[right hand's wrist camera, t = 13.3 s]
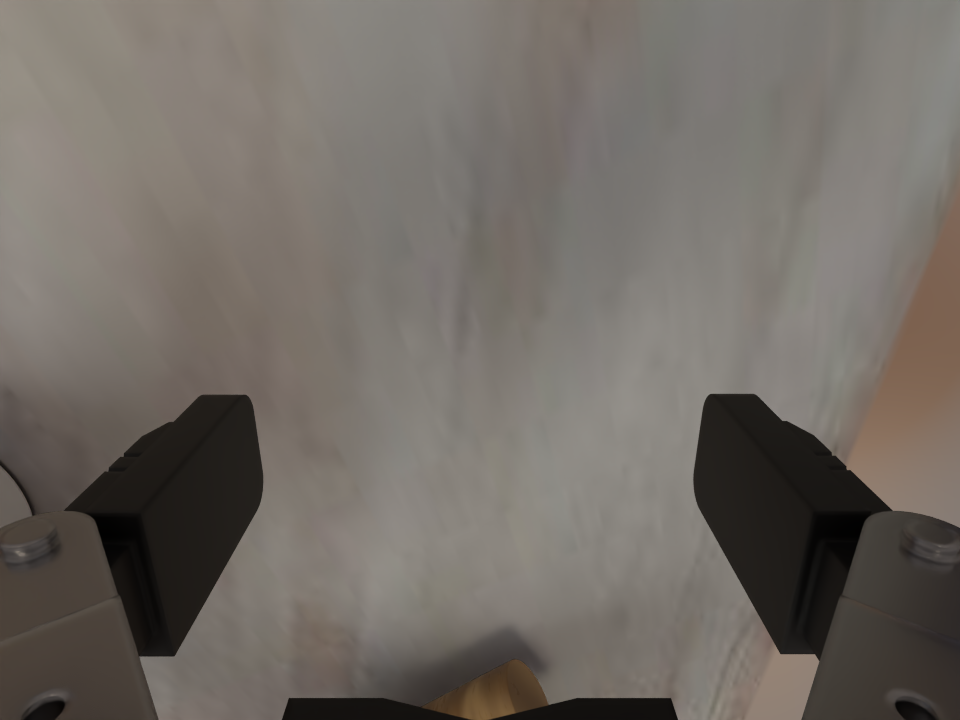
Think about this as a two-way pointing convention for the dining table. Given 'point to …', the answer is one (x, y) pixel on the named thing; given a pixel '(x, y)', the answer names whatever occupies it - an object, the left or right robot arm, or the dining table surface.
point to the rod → (493, 694)
